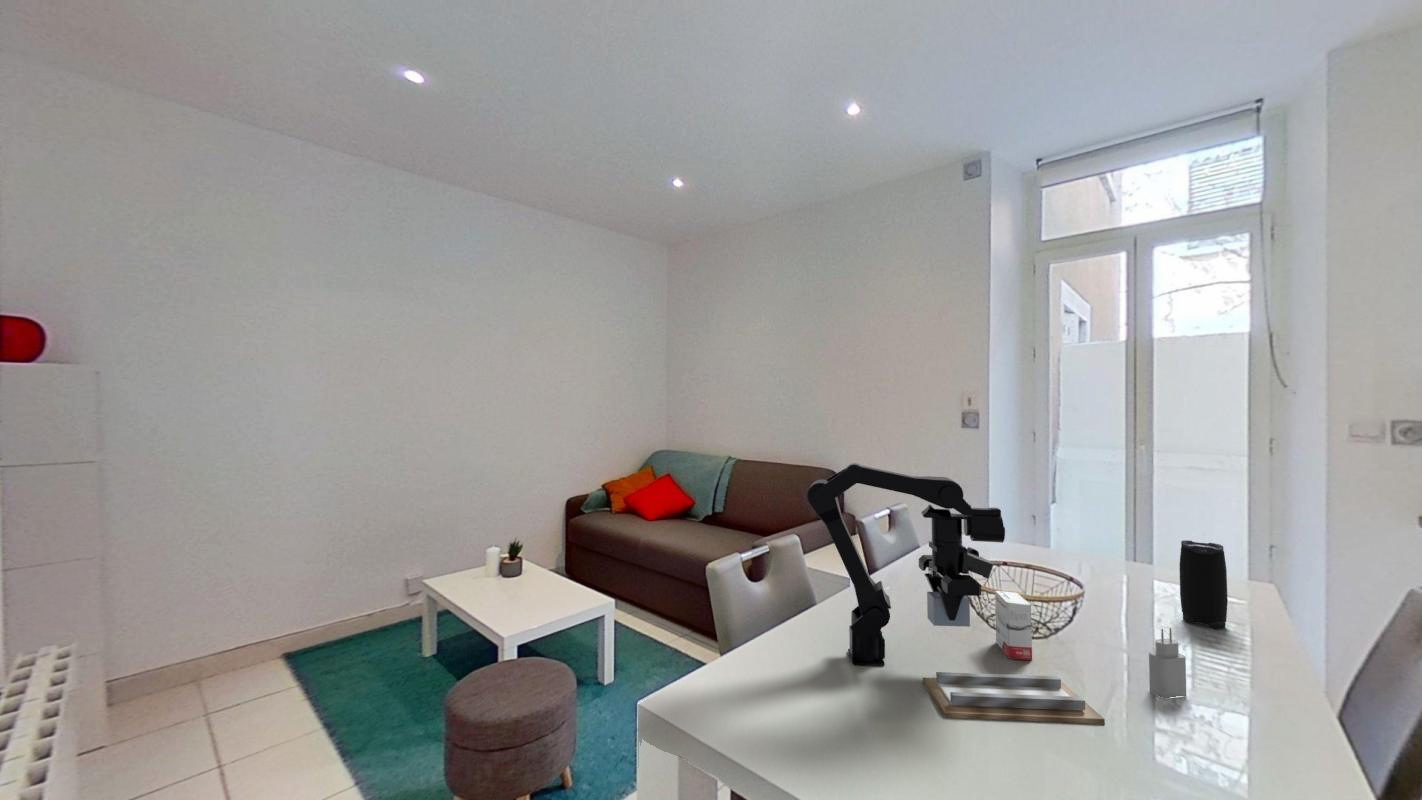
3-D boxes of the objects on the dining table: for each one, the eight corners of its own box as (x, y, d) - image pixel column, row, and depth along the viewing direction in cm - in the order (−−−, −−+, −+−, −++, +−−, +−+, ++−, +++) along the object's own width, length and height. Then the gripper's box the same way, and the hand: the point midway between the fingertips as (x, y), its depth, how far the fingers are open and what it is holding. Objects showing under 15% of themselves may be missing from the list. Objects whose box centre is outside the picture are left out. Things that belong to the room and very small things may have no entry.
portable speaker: (1225, 622, 131) (1224, 542, 132) (1230, 634, 124) (1228, 550, 124) (1179, 613, 137) (1178, 537, 137) (1181, 624, 129) (1179, 544, 130)
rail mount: (944, 717, 91) (944, 700, 91) (922, 681, 103) (922, 667, 103) (1104, 723, 89) (1104, 706, 89) (1063, 686, 101) (1062, 671, 101)
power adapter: (1188, 696, 97) (1187, 630, 97) (1164, 699, 96) (1162, 632, 96) (1171, 687, 100) (1169, 623, 100) (1147, 690, 99) (1145, 626, 99)
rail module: (934, 625, 107) (933, 598, 107) (927, 617, 111) (927, 591, 111) (970, 626, 106) (970, 598, 106) (962, 618, 110) (962, 592, 110)
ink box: (1033, 661, 111) (1032, 604, 111) (1008, 659, 112) (1007, 603, 112) (1018, 643, 119) (1017, 591, 120) (994, 641, 120) (994, 589, 121)
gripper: (1009, 552, 99) (1011, 636, 98) (968, 530, 117) (970, 600, 117) (947, 551, 100) (949, 634, 99) (917, 529, 118) (918, 599, 118)
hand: (948, 616), depth 108 cm, fingers closed on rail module, 4 cm apart
